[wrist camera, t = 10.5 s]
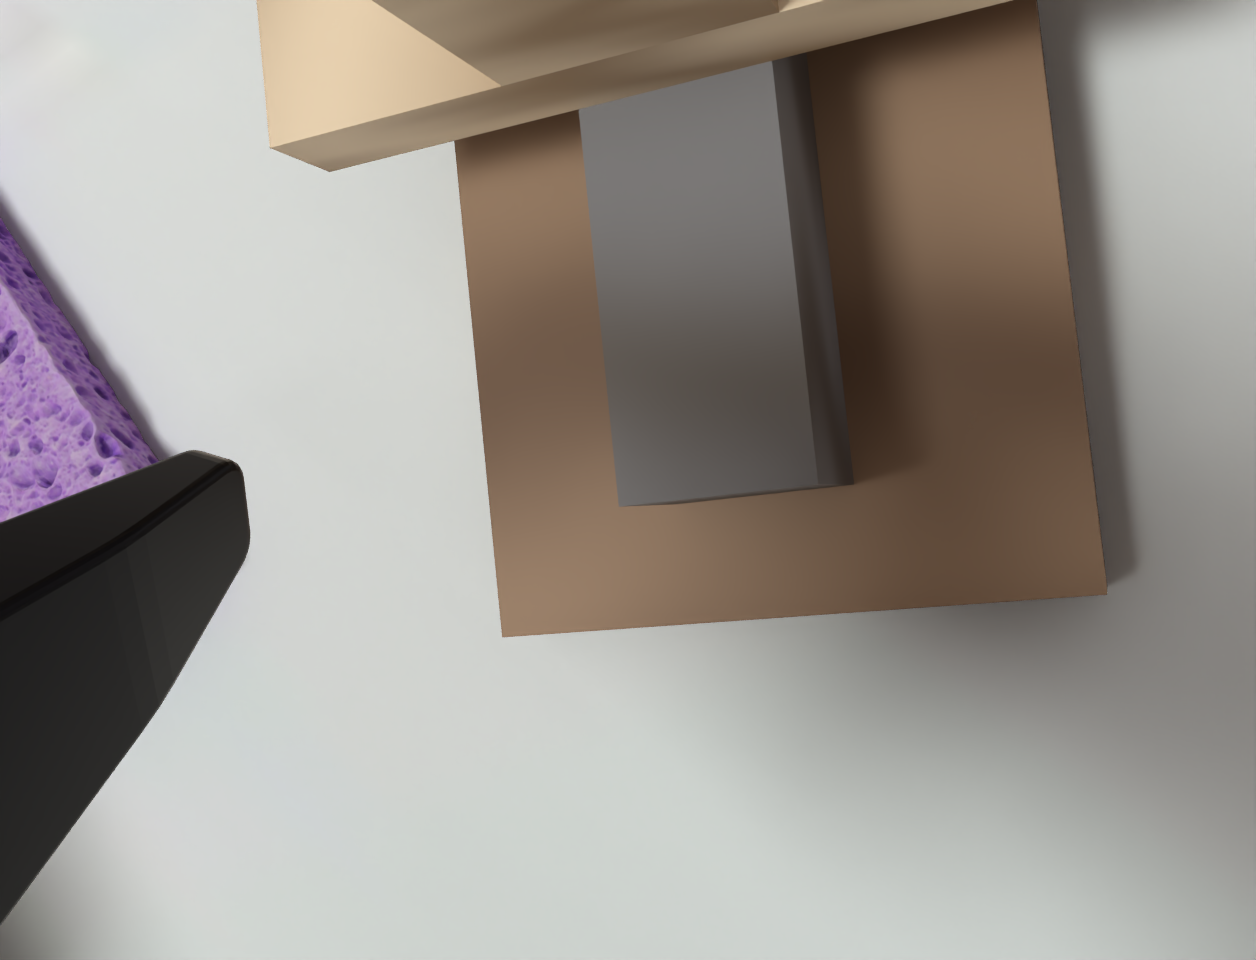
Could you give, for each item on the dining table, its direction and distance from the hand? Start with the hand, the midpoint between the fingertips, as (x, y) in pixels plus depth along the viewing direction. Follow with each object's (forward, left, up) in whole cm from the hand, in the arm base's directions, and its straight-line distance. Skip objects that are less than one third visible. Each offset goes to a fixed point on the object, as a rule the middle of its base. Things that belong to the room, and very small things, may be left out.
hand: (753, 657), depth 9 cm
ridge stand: (+1, +10, -11) cm, 15 cm away
